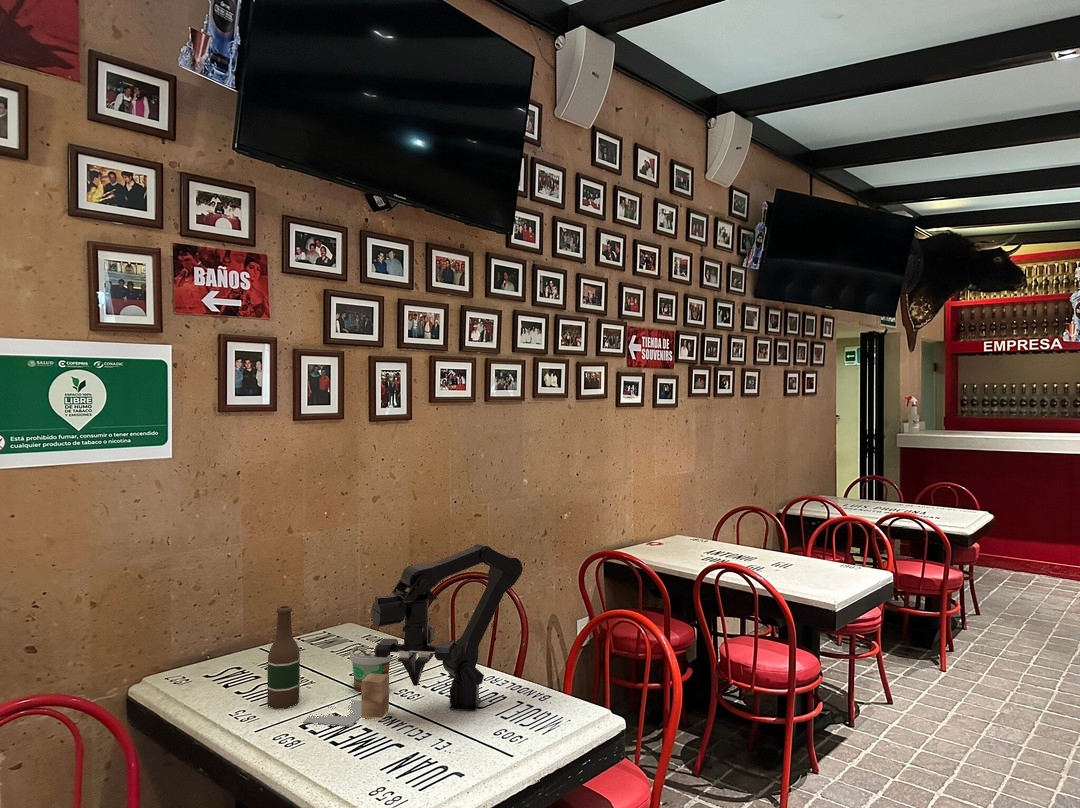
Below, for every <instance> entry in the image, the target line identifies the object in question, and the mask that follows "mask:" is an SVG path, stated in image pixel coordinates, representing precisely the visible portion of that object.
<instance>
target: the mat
mask: <svg viewBox="0 0 1080 808" xmlns="http://www.w3.org/2000/svg"><path fill="white" fill-rule="evenodd" d="M350 700H351V701H352V703H351V702H350V703H351V707H350V708H351V709H350V708H349V706H350V705H349V706H348V708H349V709H350V711H351V710H352V711H353V712H352V711H351V712H352V713H351V712H350V711H349V712H350V714H349V715H350V716H349V715H347V717H346V716H342V717H341V716H340V717H339V715H338V716H334V715H335V714H334V715H333V714H332V715H333V716H332V715H331V714H328V716H327V715H326V716H327V717H326V716H325V715H323V716H322V717H321V716H317V717H319V718H317V717H316V716H313V715H312V716H311V717H310V715H309V716H307V718H306V719H304V720H302V723H303V724H307V723H318V724H317V725H321V724H330V725H329V726H334V725H340V726H339V727H350V728H351V727H353V726H354V725H355V724H356V723H357V722H358V720H359V719H361V717H360V716H361V700H360V699H359V700H358V699H350ZM353 702H354V703H353ZM331 707H332V706H331ZM331 707H330V708H331ZM328 708H329V706H328ZM335 708H336V707H335ZM335 708H334V709H335ZM332 709H333V708H332ZM332 709H331V710H332ZM349 709H348V710H349ZM353 713H354V714H353ZM316 715H317V714H316ZM321 715H322V714H321ZM330 715H331V716H330ZM324 716H325V717H324ZM312 717H313V718H312ZM315 717H316V718H315ZM356 721H357V722H356ZM355 722H356V723H355ZM354 723H355V724H354ZM353 724H354V725H353Z"/></svg>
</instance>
